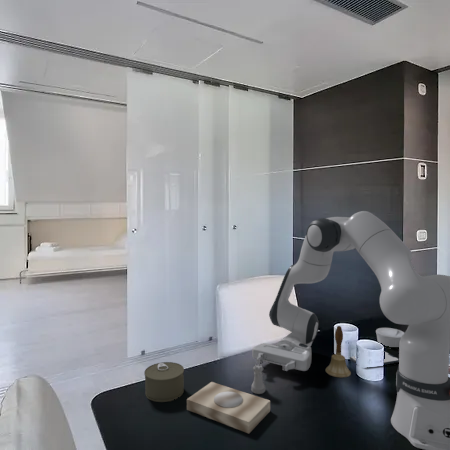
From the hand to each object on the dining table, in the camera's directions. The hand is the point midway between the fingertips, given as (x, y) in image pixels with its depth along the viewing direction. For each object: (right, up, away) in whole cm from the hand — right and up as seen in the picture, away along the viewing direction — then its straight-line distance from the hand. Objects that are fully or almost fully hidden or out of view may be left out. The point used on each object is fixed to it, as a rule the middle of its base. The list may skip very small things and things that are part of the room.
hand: (271, 364), depth 119 cm
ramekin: (+53, -3, +30) cm, 60 cm away
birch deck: (-14, -6, -18) cm, 23 cm away
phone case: (+40, -5, +14) cm, 42 cm away
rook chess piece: (-5, -6, -7) cm, 10 cm away
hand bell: (+24, -5, +5) cm, 25 cm away
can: (-34, -6, -7) cm, 35 cm away
